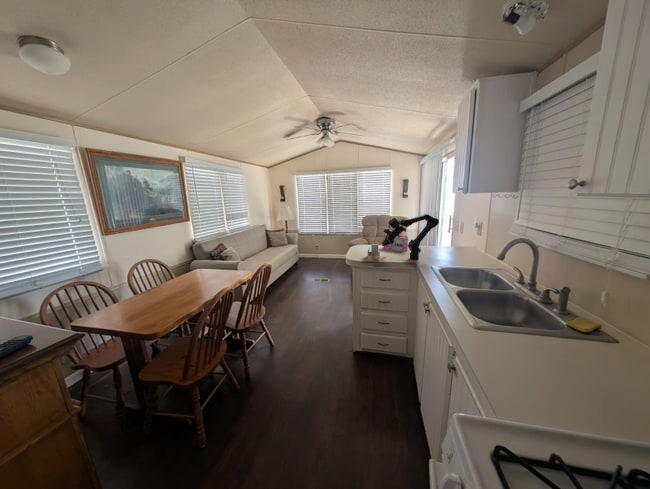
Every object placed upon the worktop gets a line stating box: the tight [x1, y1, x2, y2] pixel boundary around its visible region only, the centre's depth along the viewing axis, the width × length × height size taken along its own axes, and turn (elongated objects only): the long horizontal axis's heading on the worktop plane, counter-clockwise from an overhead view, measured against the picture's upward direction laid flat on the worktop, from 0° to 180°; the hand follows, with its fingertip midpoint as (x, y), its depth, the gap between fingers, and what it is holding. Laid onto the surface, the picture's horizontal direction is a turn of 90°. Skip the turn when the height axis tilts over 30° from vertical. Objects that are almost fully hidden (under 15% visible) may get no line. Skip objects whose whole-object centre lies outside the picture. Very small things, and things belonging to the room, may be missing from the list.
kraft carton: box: [367, 247, 388, 262], centre depth 204 cm, size 16×15×8 cm
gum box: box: [383, 234, 409, 252], centre depth 237 cm, size 24×8×14 cm, turn 41°
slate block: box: [370, 243, 379, 256], centre depth 204 cm, size 6×6×12 cm
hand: (382, 244), depth 202 cm, fingers open, 9 cm apart
